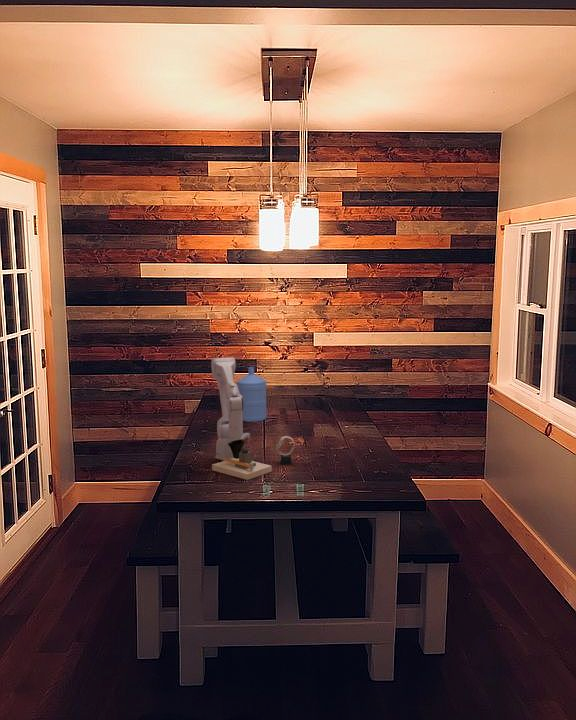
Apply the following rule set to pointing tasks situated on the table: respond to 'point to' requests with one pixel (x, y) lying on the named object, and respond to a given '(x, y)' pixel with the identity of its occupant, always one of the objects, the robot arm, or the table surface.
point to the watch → (285, 456)
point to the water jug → (253, 397)
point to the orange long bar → (240, 463)
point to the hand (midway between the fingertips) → (236, 458)
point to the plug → (245, 458)
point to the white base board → (241, 469)
